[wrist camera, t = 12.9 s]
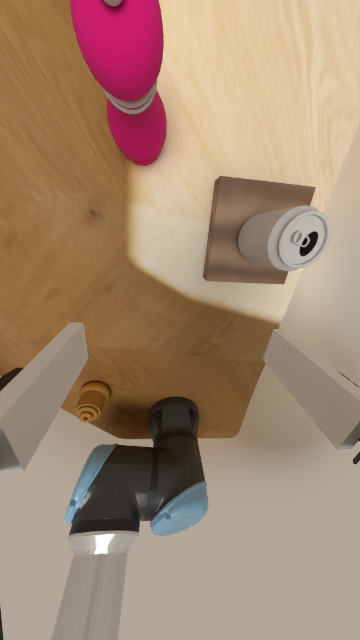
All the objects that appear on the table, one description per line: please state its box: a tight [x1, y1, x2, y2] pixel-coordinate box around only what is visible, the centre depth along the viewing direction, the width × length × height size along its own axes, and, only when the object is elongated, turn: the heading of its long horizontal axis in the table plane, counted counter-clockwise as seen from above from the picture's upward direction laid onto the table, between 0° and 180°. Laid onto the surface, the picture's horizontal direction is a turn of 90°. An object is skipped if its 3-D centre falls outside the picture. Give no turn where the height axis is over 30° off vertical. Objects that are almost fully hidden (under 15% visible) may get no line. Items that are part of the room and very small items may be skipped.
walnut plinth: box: [203, 176, 316, 284], centre depth 33 cm, size 16×16×3 cm
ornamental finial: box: [75, 382, 110, 422], centre depth 44 cm, size 8×8×8 cm
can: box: [238, 205, 331, 271], centre depth 26 cm, size 8×8×12 cm
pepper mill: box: [70, 0, 166, 165], centre depth 18 cm, size 7×7×20 cm
